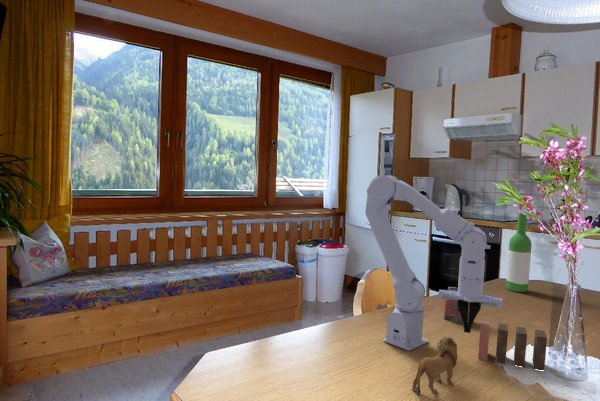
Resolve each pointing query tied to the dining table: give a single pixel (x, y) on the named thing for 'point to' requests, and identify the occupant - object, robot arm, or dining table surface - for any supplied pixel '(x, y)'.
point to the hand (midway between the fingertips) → (467, 331)
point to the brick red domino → (484, 340)
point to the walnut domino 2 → (520, 346)
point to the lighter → (453, 309)
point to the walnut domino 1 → (501, 343)
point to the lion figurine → (437, 365)
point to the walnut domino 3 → (539, 349)
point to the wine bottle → (519, 258)
